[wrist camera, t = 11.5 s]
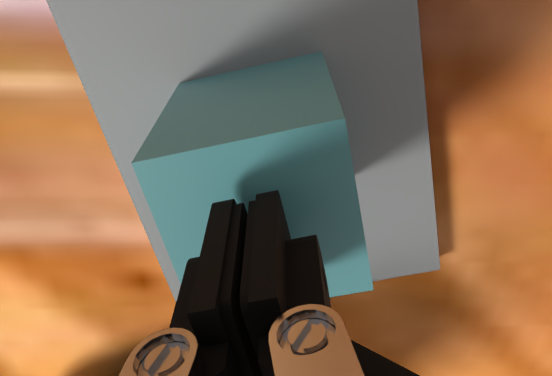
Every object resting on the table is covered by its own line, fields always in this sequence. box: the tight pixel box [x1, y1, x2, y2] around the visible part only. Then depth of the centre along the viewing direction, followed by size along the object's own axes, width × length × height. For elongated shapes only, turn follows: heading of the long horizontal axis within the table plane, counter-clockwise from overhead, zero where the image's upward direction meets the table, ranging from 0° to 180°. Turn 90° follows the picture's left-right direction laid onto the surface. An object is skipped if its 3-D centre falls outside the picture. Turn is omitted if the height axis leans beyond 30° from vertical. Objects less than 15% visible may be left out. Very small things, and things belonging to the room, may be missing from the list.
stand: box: [46, 0, 440, 301], centre depth 17 cm, size 16×12×6 cm
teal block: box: [131, 51, 374, 297], centre depth 16 cm, size 5×5×7 cm
